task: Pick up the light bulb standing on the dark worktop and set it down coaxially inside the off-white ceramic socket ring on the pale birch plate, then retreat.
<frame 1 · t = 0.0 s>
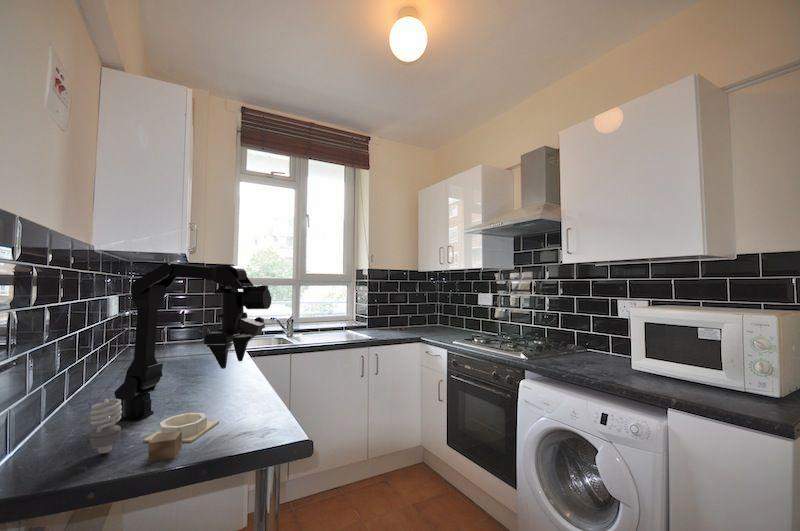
hand: (232, 364, 102), 15 cm above the countertop, fingers open, 9 cm apart
walnut block: (165, 455, 80), on the countertop
socket: (183, 431, 92), on the countertop
light bulb: (105, 454, 80), on the countertop
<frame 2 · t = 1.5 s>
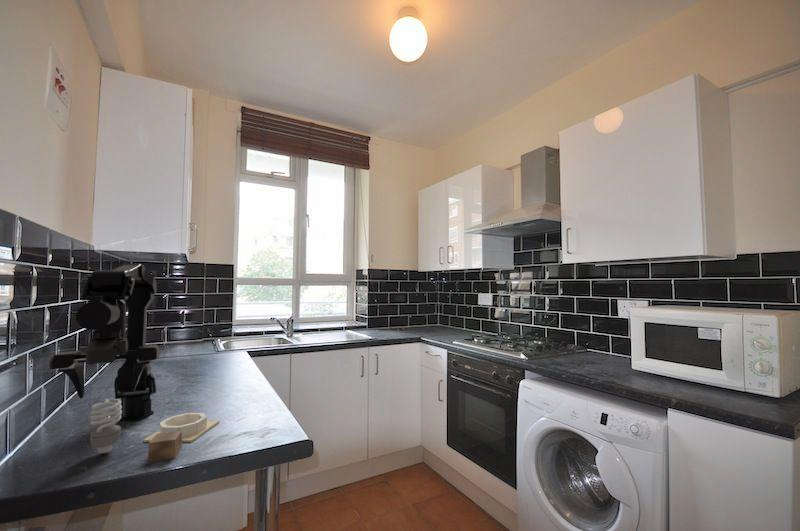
hand: (108, 394, 81), 13 cm above the countertop, fingers open, 9 cm apart
nothing on the countertop moved.
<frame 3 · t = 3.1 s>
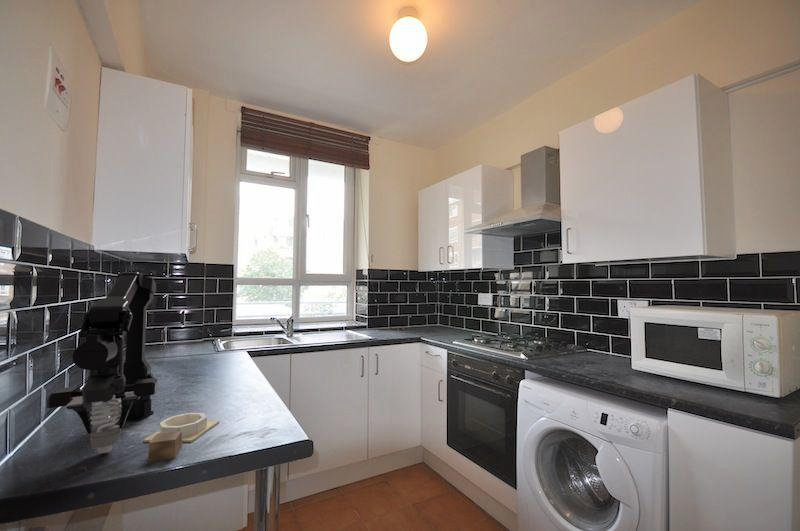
hand: (105, 430, 81), 5 cm above the countertop, fingers closed on light bulb, 5 cm apart
light bulb: (105, 454, 80), on the countertop, touching gripper
everything else where it was.
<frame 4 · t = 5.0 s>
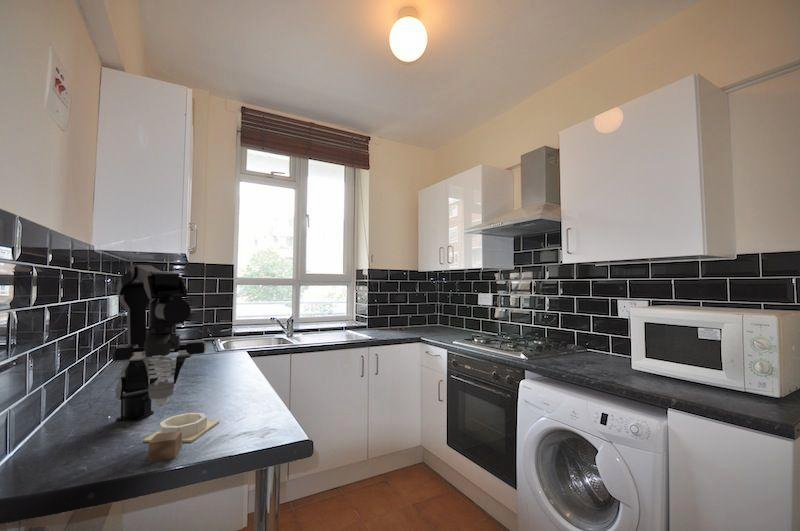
hand: (161, 384, 89), 13 cm above the countertop, fingers closed on light bulb, 5 cm apart
light bulb: (161, 406, 88), point 8 cm above the countertop, touching gripper
everything else where it was.
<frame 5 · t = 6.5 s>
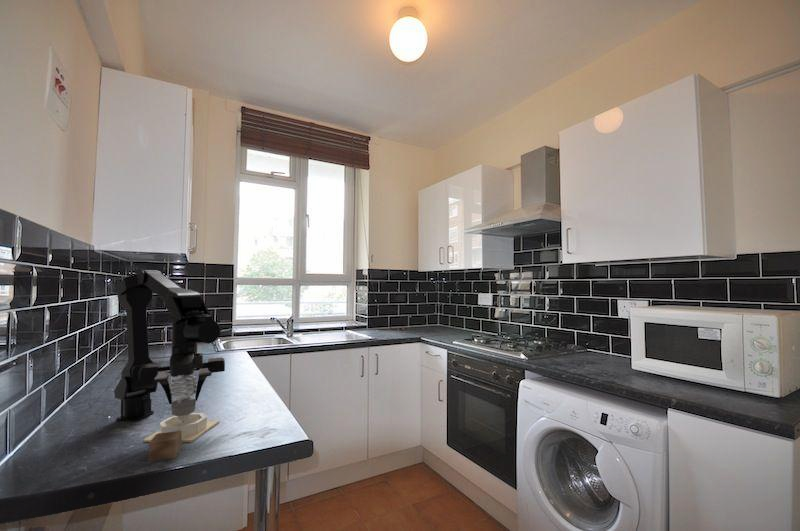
hand: (183, 402, 92), 7 cm above the countertop, fingers closed on light bulb, 5 cm apart
light bulb: (183, 423, 92), point 2 cm above the countertop, touching gripper
everything else where it was.
when the fingers open (7 cm above the countertop, at t = 7.2 s): light bulb drops 2 cm, resting on socket.
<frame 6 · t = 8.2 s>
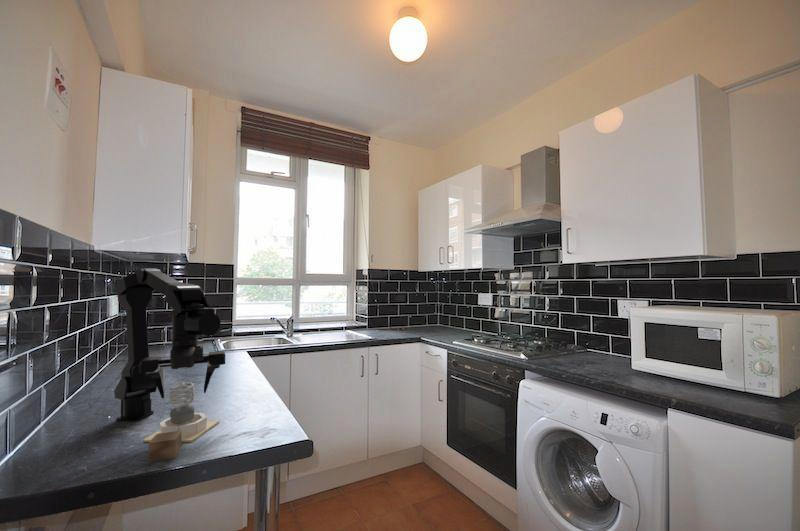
hand: (184, 395, 92), 9 cm above the countertop, fingers open, 9 cm apart
light bulb: (182, 430, 92), resting on socket
everything else where it was.
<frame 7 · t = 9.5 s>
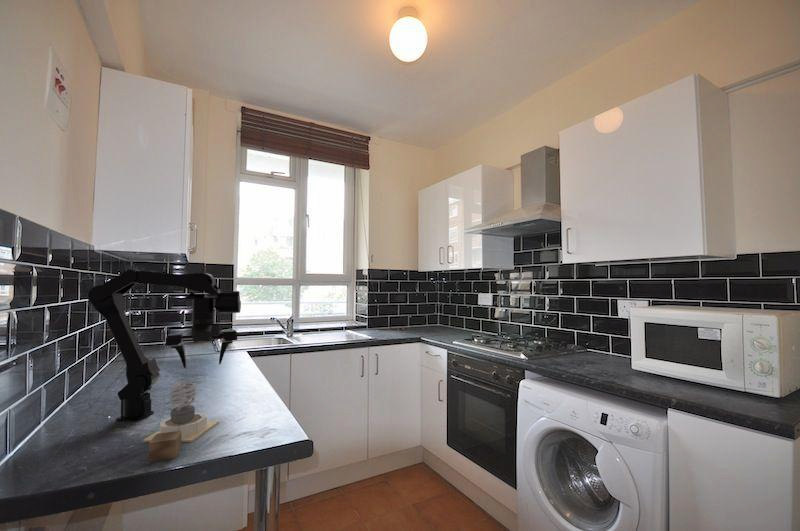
hand: (202, 366, 109), 13 cm above the countertop, fingers open, 9 cm apart
nothing on the countertop moved.
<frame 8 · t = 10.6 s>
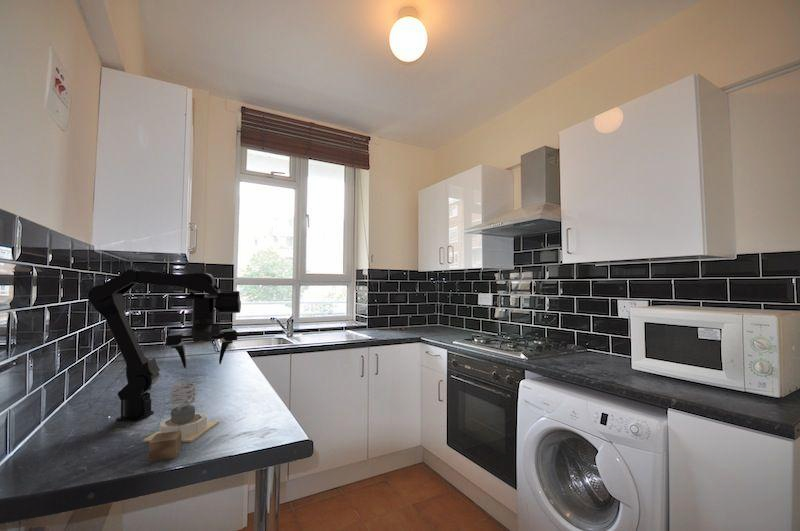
hand: (202, 365, 109), 13 cm above the countertop, fingers open, 9 cm apart
nothing on the countertop moved.
at the end: light bulb 0.2 cm from the socket (horizontally); light bulb resting on socket; the gripper is holding nothing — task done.
